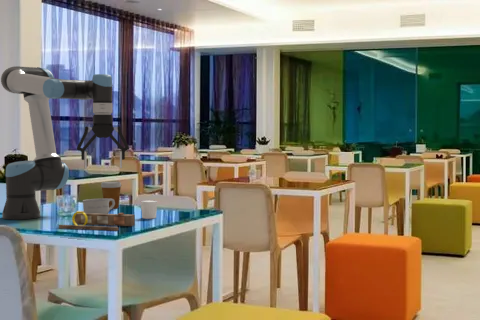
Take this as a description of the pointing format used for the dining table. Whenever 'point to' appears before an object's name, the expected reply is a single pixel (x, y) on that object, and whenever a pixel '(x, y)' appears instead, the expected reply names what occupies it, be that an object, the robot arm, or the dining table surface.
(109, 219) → the wooden tray
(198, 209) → the dining table surface
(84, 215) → the yellow ring
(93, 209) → the teacup
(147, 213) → the white tapered cup
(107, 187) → the disposable coffee cup
